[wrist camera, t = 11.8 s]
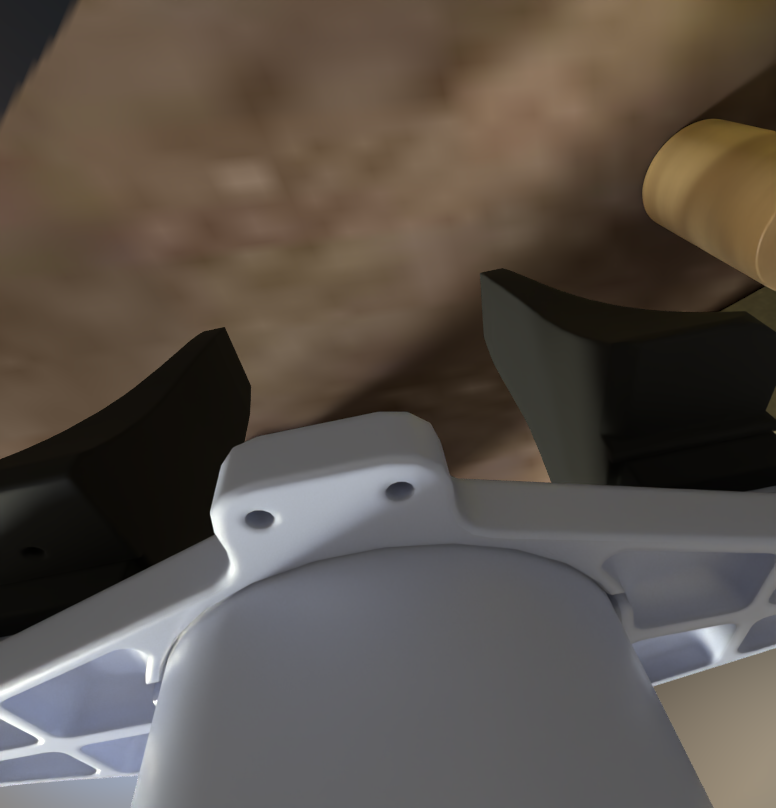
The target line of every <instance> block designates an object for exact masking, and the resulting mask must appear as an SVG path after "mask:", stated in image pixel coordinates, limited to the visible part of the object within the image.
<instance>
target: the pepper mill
mask: <svg viewBox="0 0 776 808" xmlns="http://www.w3.org/2000/svg"><path fill="white" fill-rule="evenodd" d="M642 197H643V204H644V208H645V210H646V212H647V214H648V216H649V217H650V218H651V219H652V220H653V221H654V222H656V223H657V224H659V225H661V226H662V227H664V228H666V229H668V230H669V231H671V232H673V233H675V234H676V235H678V236H680V237H681V238H683V239H685V240H687V241H688V242H690V243H692V244H694V245H695V246H697V247H699V248H700V249H702V250H704V251H706V252H707V253H709V254H711V255H713V256H714V257H716V258H718V259H719V260H721V261H723V262H725V263H726V264H728V265H730V266H731V267H733V268H735V269H737V270H738V271H740V272H742V273H744V274H745V275H747V276H749V277H750V278H752V279H754V280H756V281H757V282H759V283H761V284H763V285H764V286H766V287H768V288H770V289H772V290H774V291H776V131H772V130H767V129H763V128H758V127H754V126H749V125H745V124H740V123H736V122H731V121H727V120H722V119H706V120H702V121H698V122H696V123H693V124H691V125H689V126H687V127H685V128H684V129H682V130H681V131H679V132H678V133H676V134H675V135H674V136H673V137H671V138H670V139H669V140H668V141H667V142H666V143H665V144H664V145H663V147H662V148H661V149H660V150H659V151H658V153H657V154H656V156H655V157H654V159H653V161H652V162H651V164H650V166H649V168H648V171H647V173H646V176H645V179H644V184H643V191H642Z"/></svg>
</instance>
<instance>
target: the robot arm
mask: <svg viewBox="0 0 776 808" xmlns="http://www.w3.org/2000/svg"><path fill="white" fill-rule="evenodd" d="M480 280H481V297H482V314H483V331H484V339H485V342H486V344H487V347H488V350H489V353H490V355H491V358H492V360H493V363H494V365H495V367H496V369H497V370H498V372H499V374H500V376H501V378H502V379H503V381H504V383H505V385H506V386H507V388H508V390H509V392H510V393H511V395H512V397H513V399H514V400H515V402H516V404H517V406H518V407H519V409H520V411H521V412H522V414H523V416H524V418H525V420H526V422H527V424H528V426H529V428H530V430H531V432H532V435H533V437H534V440H535V442H536V445H537V447H538V449H539V452H540V454H541V457H542V459H543V462H544V464H545V467H546V470H547V472H548V475H549V477H550V480H551V482H552V483H544V482H522V481H501V480H479V479H458V478H455V477H452V476H451V475H450V473H449V470H448V466H447V463H446V459H445V456H444V452H443V448H442V445H441V441H440V439H439V438H438V436H437V434H436V432H435V431H434V429H433V427H432V425H431V423H429V422H427V421H425V420H423V419H421V418H419V417H417V416H415V415H413V414H411V413H409V412H375V413H370V414H365V415H360V416H355V417H350V418H345V419H340V420H336V421H331V422H326V423H321V424H316V425H311V426H306V427H301V428H297V429H292V430H287V431H282V432H277V433H272V434H267V435H262V436H258V437H255V438H253V439H251V440H249V441H246V442H244V441H245V436H246V431H247V426H248V421H249V416H250V402H251V385H250V383H249V380H248V378H247V376H246V374H245V371H244V369H243V367H242V365H241V363H240V360H239V358H238V356H237V354H236V351H235V349H234V347H233V345H232V342H231V340H230V338H229V336H228V333H227V331H226V329H225V327H223V328H218V329H214V330H209V331H204V332H202V333H200V334H199V335H197V336H196V337H195V338H193V339H192V340H191V341H190V342H188V343H187V344H186V345H185V346H184V347H183V348H181V349H180V350H179V351H178V352H177V353H176V354H174V355H173V356H172V357H171V358H170V359H169V360H168V361H166V362H165V363H164V364H163V365H162V366H161V367H159V368H158V369H157V370H156V371H155V372H153V373H152V374H151V375H150V376H148V377H147V378H146V379H145V380H143V381H142V382H141V383H140V384H138V385H137V386H136V387H135V388H133V389H132V390H131V391H129V392H128V393H126V394H125V395H124V396H122V397H121V398H119V399H118V400H116V401H115V402H113V403H112V404H110V405H109V406H107V407H106V408H104V409H102V410H101V411H99V412H98V413H96V414H94V415H92V416H90V417H89V418H87V419H85V420H83V421H82V422H80V423H78V424H76V425H74V426H73V427H71V428H69V429H67V430H65V431H63V432H61V433H59V434H57V435H55V436H53V437H51V438H49V439H47V440H45V441H43V442H40V443H38V444H36V445H34V446H31V447H29V448H27V449H25V450H22V451H20V452H18V453H15V454H13V455H10V456H7V457H5V458H2V459H0V787H2V786H11V785H19V784H28V783H41V782H52V781H65V780H80V779H95V778H110V777H125V776H138V780H137V784H136V788H135V792H134V796H133V800H132V804H131V808H713V806H712V804H711V802H710V800H709V798H708V796H707V794H706V792H705V790H704V788H703V786H702V784H701V782H700V780H699V778H698V776H697V774H696V772H695V770H694V768H693V766H692V764H691V762H690V760H689V758H688V756H687V754H686V752H685V750H684V748H683V746H682V744H681V742H680V740H679V738H678V736H677V734H676V732H675V730H674V728H673V726H672V724H671V722H670V720H669V718H668V716H667V714H666V712H665V710H664V708H663V706H662V704H661V702H660V700H659V698H658V696H657V694H656V692H655V690H654V688H653V686H656V685H659V684H662V683H665V682H668V681H672V680H675V679H678V678H681V677H685V676H687V675H691V674H694V673H697V672H701V671H704V670H707V669H710V668H713V667H717V666H720V665H722V664H726V663H729V662H732V661H736V660H739V659H742V658H745V657H748V656H752V655H755V654H758V653H761V652H764V651H768V650H771V649H774V648H776V434H775V433H774V432H773V431H776V419H775V418H774V417H773V416H771V415H770V414H769V413H768V412H767V411H766V409H767V406H768V404H769V401H770V399H771V397H772V394H773V392H774V389H775V387H776V331H774V330H773V329H771V328H770V327H768V326H767V325H765V324H764V323H762V322H761V321H759V320H758V319H756V318H755V317H754V316H752V315H751V314H749V313H748V312H746V311H732V312H671V311H656V310H645V309H638V308H630V307H623V306H617V305H611V304H607V303H602V302H598V301H593V300H589V299H585V298H582V297H578V296H575V295H572V294H569V293H566V292H563V291H560V290H557V289H554V288H552V287H549V286H547V285H544V284H542V283H539V282H537V281H534V280H532V279H529V278H527V277H525V276H522V275H520V274H517V273H515V272H512V271H510V270H507V269H503V268H501V269H497V270H492V271H487V272H483V273H480Z"/></svg>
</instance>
